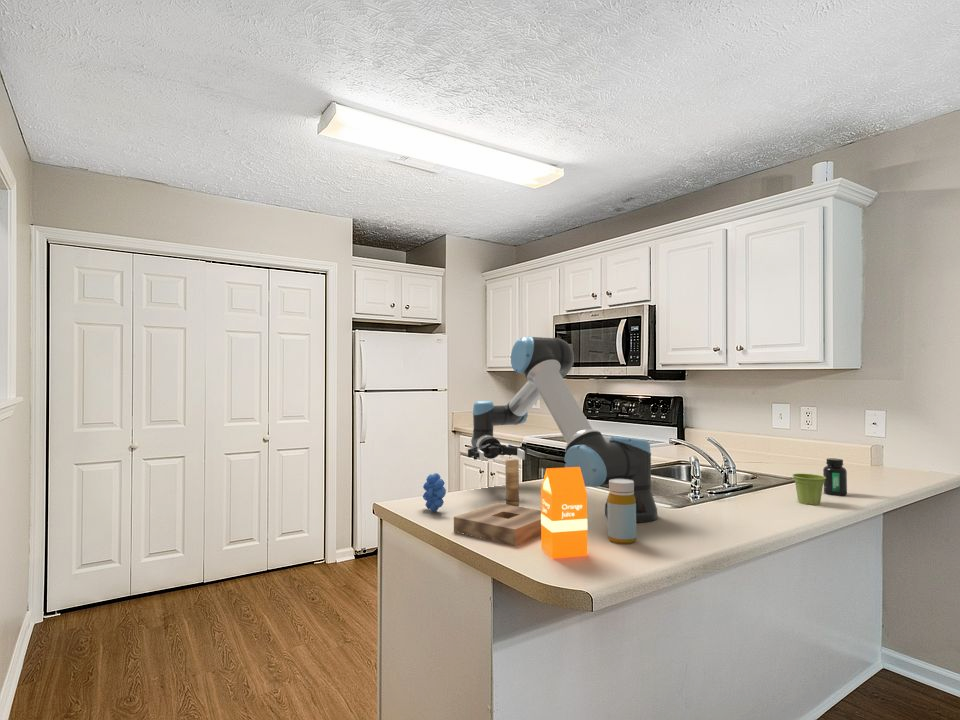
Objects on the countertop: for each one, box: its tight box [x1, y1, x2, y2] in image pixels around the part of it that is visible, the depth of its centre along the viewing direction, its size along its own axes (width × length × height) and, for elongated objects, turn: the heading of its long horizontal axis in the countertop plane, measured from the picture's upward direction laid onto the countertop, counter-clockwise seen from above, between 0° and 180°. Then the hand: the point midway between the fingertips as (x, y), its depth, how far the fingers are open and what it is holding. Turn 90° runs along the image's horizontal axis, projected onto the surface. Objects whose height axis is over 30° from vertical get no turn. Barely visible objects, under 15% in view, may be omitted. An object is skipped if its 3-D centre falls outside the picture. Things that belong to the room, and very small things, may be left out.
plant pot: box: [791, 473, 826, 506], centre depth 183 cm, size 9×9×9 cm
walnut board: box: [453, 502, 541, 547], centre depth 154 cm, size 20×20×4 cm
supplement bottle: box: [822, 458, 848, 497], centre depth 195 cm, size 7×7×12 cm
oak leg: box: [505, 458, 520, 507], centre depth 172 cm, size 4×4×16 cm
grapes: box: [422, 472, 447, 513], centre depth 175 cm, size 12×7×12 cm, turn 34°
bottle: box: [606, 479, 637, 545], centre depth 144 cm, size 7×7×15 cm
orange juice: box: [540, 467, 588, 560], centre depth 135 cm, size 8×9×20 cm
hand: (503, 456), depth 182 cm, fingers open, 13 cm apart
